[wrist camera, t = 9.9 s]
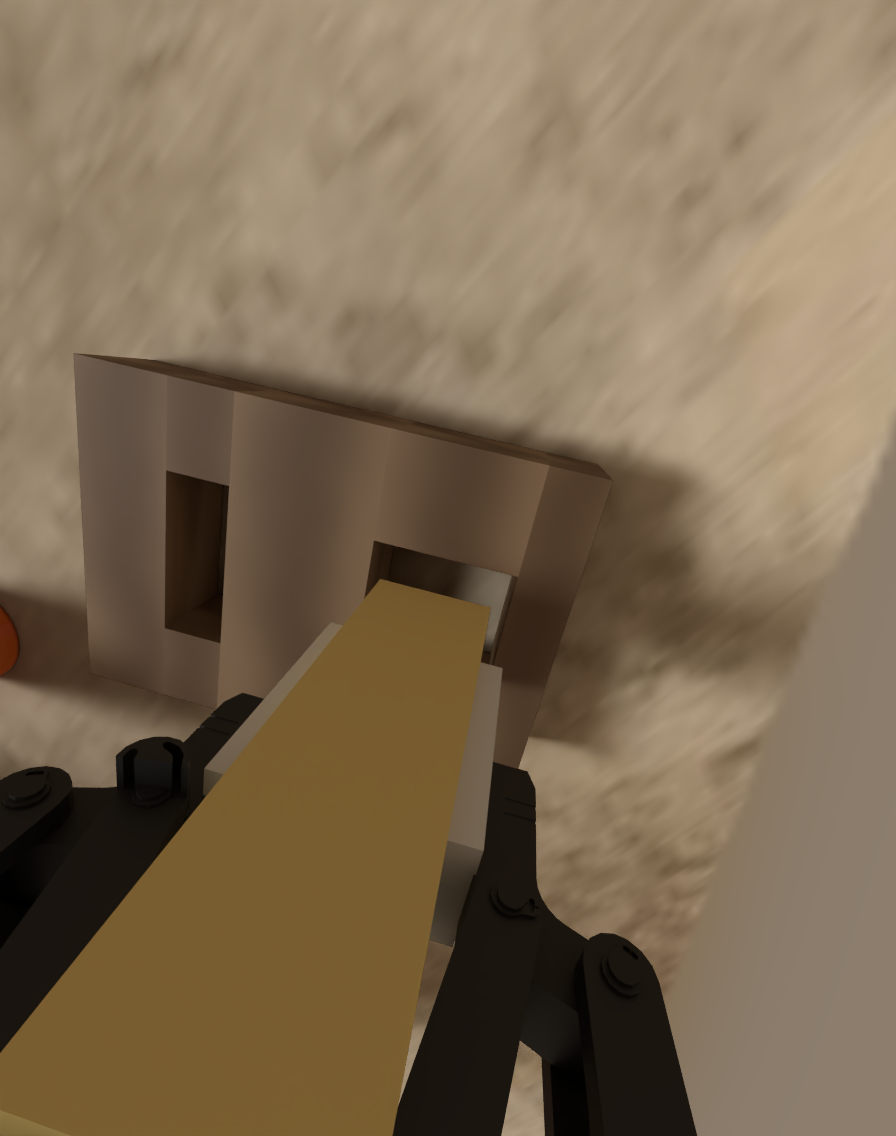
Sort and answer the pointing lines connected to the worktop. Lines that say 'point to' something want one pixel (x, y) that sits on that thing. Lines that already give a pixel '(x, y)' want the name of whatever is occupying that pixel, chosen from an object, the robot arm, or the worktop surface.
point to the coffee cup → (7, 642)
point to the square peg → (276, 912)
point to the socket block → (303, 530)
